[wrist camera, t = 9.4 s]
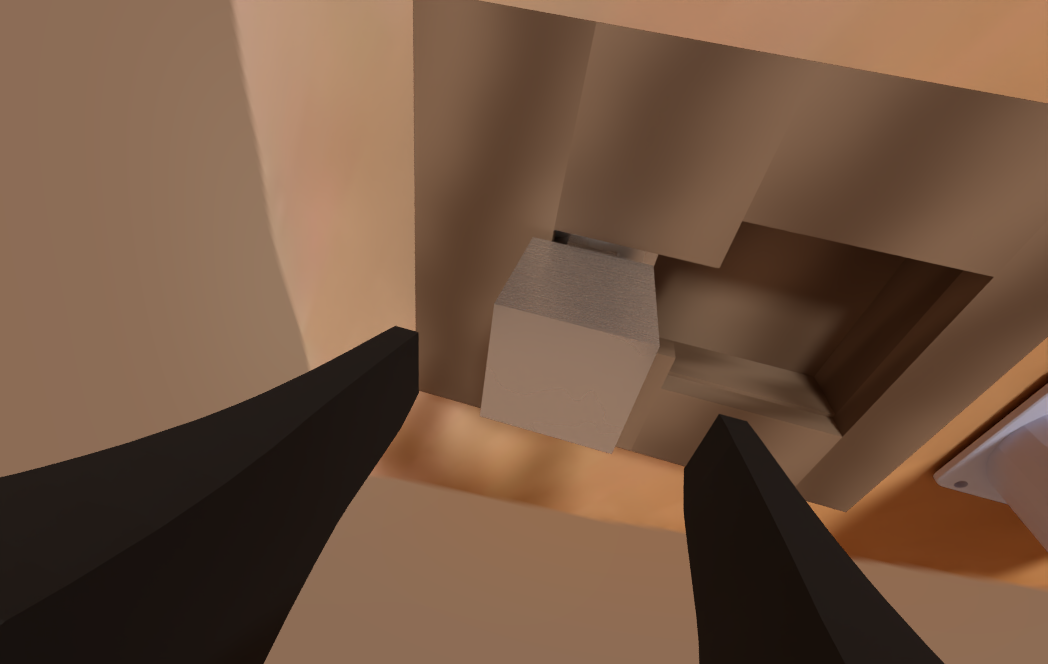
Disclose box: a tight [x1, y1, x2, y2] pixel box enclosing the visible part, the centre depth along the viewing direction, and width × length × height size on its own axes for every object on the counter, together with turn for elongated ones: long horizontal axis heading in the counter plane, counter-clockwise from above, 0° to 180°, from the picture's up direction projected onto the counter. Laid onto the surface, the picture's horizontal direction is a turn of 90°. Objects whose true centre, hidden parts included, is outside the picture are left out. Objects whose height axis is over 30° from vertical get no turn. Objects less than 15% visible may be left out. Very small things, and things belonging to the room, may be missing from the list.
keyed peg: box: [480, 230, 660, 454], centre depth 14 cm, size 5×5×8 cm
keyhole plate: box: [413, 0, 1048, 512], centre depth 16 cm, size 20×15×4 cm
